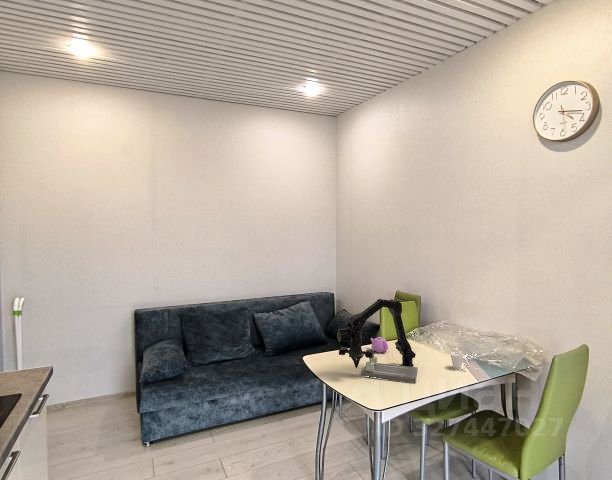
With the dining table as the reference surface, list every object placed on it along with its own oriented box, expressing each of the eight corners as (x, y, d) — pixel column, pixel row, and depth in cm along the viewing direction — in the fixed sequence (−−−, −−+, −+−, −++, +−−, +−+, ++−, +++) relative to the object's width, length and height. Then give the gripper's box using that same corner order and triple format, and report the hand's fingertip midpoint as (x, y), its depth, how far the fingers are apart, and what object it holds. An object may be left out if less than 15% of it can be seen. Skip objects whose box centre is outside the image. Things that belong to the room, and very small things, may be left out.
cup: (454, 364, 213) (454, 351, 213) (471, 369, 205) (471, 355, 205) (448, 367, 209) (447, 353, 208) (464, 373, 201) (464, 358, 200)
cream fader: (370, 362, 211) (370, 355, 211) (377, 363, 210) (377, 356, 210) (369, 364, 208) (369, 357, 208) (376, 365, 207) (376, 358, 207)
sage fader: (366, 368, 202) (366, 361, 202) (374, 369, 201) (374, 362, 200) (365, 371, 199) (365, 363, 199) (373, 371, 198) (373, 364, 198)
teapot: (381, 355, 230) (381, 341, 230) (365, 349, 243) (364, 335, 243) (393, 352, 236) (392, 338, 236) (376, 346, 249) (376, 332, 248)
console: (367, 366, 214) (367, 361, 213) (417, 371, 204) (417, 367, 204) (361, 376, 199) (361, 372, 198) (415, 383, 189) (415, 378, 189)
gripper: (335, 342, 198) (336, 371, 198) (370, 345, 191) (370, 375, 192) (341, 336, 208) (341, 363, 209) (374, 339, 202) (374, 367, 202)
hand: (356, 367), depth 202 cm, fingers closed
